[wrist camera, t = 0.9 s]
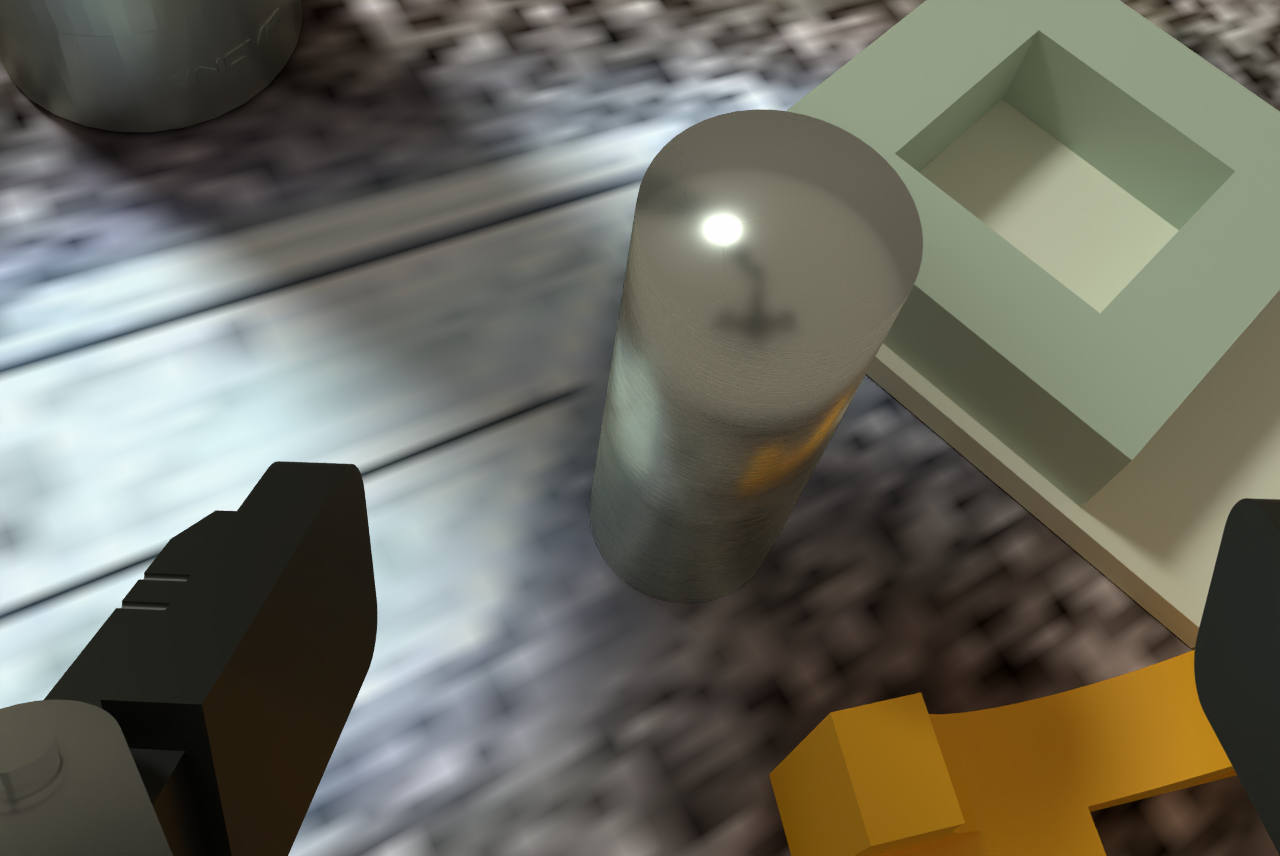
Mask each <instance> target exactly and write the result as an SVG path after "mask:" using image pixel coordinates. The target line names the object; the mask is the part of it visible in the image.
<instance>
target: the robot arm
mask: <svg viewBox="0 0 1280 856" xmlns="http://www.w3.org/2000/svg"><path fill="white" fill-rule="evenodd" d="M302 20H303V19H302V6H301V0H0V60H1V62H2V64H3V66H4V68H5V70H6V71H7V73H8V75H9V77H10V79H11V80H12V81H13V82H14V83H15V84H16V85H17V86H18V87H19V88H20V90H21V91H22V92H23V93H24V94H25V95H26V96H27V97H28V98H29V99H30V100H32V101H34V102H35V103H37V104H38V105H40V106H41V107H43V108H45V109H46V110H48V111H49V112H51V113H53V114H54V115H56V116H59V117H62V118H64V119H67V120H70V121H72V122H75V123H78V124H80V125H83V126H87V127H93V128H98V129H104V130H109V131H115V132H157V131H164V130H171V129H177V128H184V127H188V126H191V125H194V124H197V123H201V122H204V121H207V120H210V119H214V118H217V117H219V116H221V115H223V114H225V113H227V112H229V111H230V110H232V109H234V108H236V107H238V106H240V105H242V104H244V103H246V102H247V101H248V100H250V99H251V98H252V97H254V96H255V95H256V94H258V93H259V92H260V91H262V90H263V89H264V88H266V87H267V86H268V85H269V84H270V83H271V82H272V81H273V79H274V78H275V77H276V76H277V75H278V74H279V72H280V71H281V70H282V69H283V68H284V67H285V66H286V64H287V62H288V60H289V58H290V56H291V55H292V53H293V51H294V49H295V47H296V45H297V43H298V39H299V34H300V29H301V25H302ZM376 632H377V598H376V589H375V581H374V572H373V563H372V554H371V545H370V536H369V527H368V518H367V509H366V500H365V491H364V484H363V480H362V476H361V474H360V471H359V469H358V468H357V467H356V466H355V465H353V464H336V463H308V462H280V461H278V462H274V463H273V464H272V465H271V466H270V467H269V468H268V469H267V471H266V472H265V473H264V475H263V476H262V477H261V479H260V480H259V482H258V483H257V484H256V486H255V487H254V488H253V490H252V491H251V493H250V494H249V495H248V497H247V498H246V499H245V501H244V502H243V504H242V505H241V506H240V508H239V509H238V511H214V512H213V513H211V514H210V515H208V516H207V517H205V518H203V519H202V520H200V521H199V522H197V523H195V524H194V525H192V526H191V527H189V528H188V529H186V530H184V531H183V532H181V533H180V534H178V535H176V536H175V537H173V538H172V539H171V540H170V541H169V542H168V543H167V545H166V546H165V547H164V548H163V550H162V551H161V552H160V554H159V555H158V556H157V557H156V559H155V560H154V561H153V562H152V564H151V565H150V566H149V567H148V569H147V570H146V571H145V573H144V580H138V581H137V583H136V584H135V585H134V586H133V588H132V589H131V590H130V591H129V593H128V594H127V595H126V597H125V598H124V599H123V600H122V608H116V609H115V610H114V612H113V613H112V614H111V616H110V617H109V618H108V619H107V621H106V622H105V623H104V624H103V626H102V627H101V628H100V629H99V631H98V632H97V633H96V634H95V636H94V637H93V638H92V640H91V641H90V642H89V643H88V645H87V646H86V647H85V648H84V650H83V651H82V652H81V653H80V655H79V656H78V657H77V659H76V660H75V661H74V662H73V664H72V665H71V666H70V667H69V669H68V670H67V671H66V672H65V674H64V675H63V676H62V677H61V679H60V680H59V681H58V683H57V684H56V685H55V686H54V688H53V689H52V690H51V691H50V693H49V694H48V695H47V696H46V698H45V699H44V700H42V701H33V702H28V703H22V704H17V705H14V706H10V707H6V708H3V709H0V856H288V854H289V852H290V850H291V847H292V845H293V843H294V841H295V838H296V836H297V834H298V831H299V829H300V827H301V824H302V822H303V820H304V817H305V815H306V813H307V811H308V808H309V806H310V804H311V801H312V799H313V797H314V794H315V792H316V790H317V787H318V785H319V783H320V781H321V778H322V776H323V774H324V771H325V769H326V767H327V764H328V762H329V760H330V758H331V755H332V753H333V751H334V748H335V746H336V744H337V741H338V739H339V737H340V734H341V732H342V730H343V728H344V725H345V723H346V721H347V718H348V716H349V714H350V711H351V709H352V707H353V705H354V702H355V700H356V698H357V695H358V693H359V691H360V688H361V686H362V684H363V681H364V679H365V677H366V675H367V672H368V670H369V667H370V664H371V661H372V657H373V652H374V647H375V641H376ZM1194 674H1195V683H1196V689H1197V694H1198V698H1199V701H1200V704H1201V707H1202V709H1203V711H1204V713H1205V715H1206V717H1207V719H1208V721H1209V723H1210V725H1211V726H1212V728H1213V730H1214V732H1215V734H1216V736H1217V738H1218V740H1219V742H1220V743H1221V745H1222V747H1223V749H1224V751H1225V753H1226V755H1227V757H1228V759H1229V760H1230V762H1231V764H1232V766H1233V768H1234V770H1235V772H1236V774H1237V775H1238V777H1239V779H1240V781H1241V783H1242V785H1243V787H1244V789H1245V791H1246V792H1247V794H1248V796H1249V798H1250V800H1251V802H1252V804H1253V806H1254V808H1255V809H1256V811H1257V813H1258V815H1259V817H1260V819H1261V821H1262V823H1263V824H1264V826H1265V828H1266V830H1267V832H1268V834H1269V836H1270V838H1271V840H1272V841H1273V843H1274V845H1275V847H1276V849H1277V851H1278V853H1279V855H1280V499H1254V498H1245V499H1241V500H1240V501H1238V502H1237V503H1236V504H1235V505H1234V506H1233V508H1232V509H1231V511H1230V513H1229V515H1228V518H1227V521H1226V524H1225V527H1224V531H1223V535H1222V539H1221V543H1220V547H1219V551H1218V555H1217V559H1216V563H1215V567H1214V571H1213V575H1212V579H1211V583H1210V587H1209V591H1208V595H1207V599H1206V603H1205V607H1204V611H1203V615H1202V619H1201V623H1200V627H1199V631H1198V635H1197V639H1196V644H1195V652H1194Z"/></svg>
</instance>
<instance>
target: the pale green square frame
mask: <svg viewBox="0 0 1280 856" xmlns="http://www.w3.org/2000/svg"><path fill="white" fill-rule="evenodd" d="M787 112H793V113H798V114H803V115H807V116H810V117H813V118H817V119H820V120H823V121H826V122H828V123H830V124H833V125H835V126H837V127H840V128H842V129H843V130H845V131H847V132H849V133H851V134H852V135H854V136H856V137H857V138H859V139H860V140H862V141H863V142H865V143H866V144H867V145H869V146H870V147H872V148H873V149H874V150H875V151H876V152H877V153H878V154H880V155H881V156H882V157H883V158H884V159H885V160H886V161H887V162H888V163H889V164H890V165H891V167H892V168H893V169H894V170H895V171H896V172H897V174H898V175H899V177H900V178H901V179H902V181H903V182H904V183H905V185H906V187H907V189H908V191H909V192H910V194H911V196H912V198H913V200H914V203H915V205H916V208H917V211H918V213H919V217H920V222H921V226H922V234H923V253H922V262H921V265H920V269H919V273H918V276H917V279H916V281H915V283H914V285H913V288H912V290H911V292H910V293H909V295H908V297H907V299H906V301H905V303H904V304H903V306H902V308H901V310H900V312H899V314H898V316H897V317H896V319H895V321H894V323H893V325H892V327H891V328H890V330H889V332H888V334H887V336H886V338H885V340H884V341H883V343H882V345H881V347H880V349H879V351H878V353H877V354H876V356H875V358H874V360H873V362H872V364H871V365H870V367H869V369H868V371H867V373H866V374H867V375H868V376H869V377H870V378H871V379H873V380H874V381H875V382H876V383H877V384H879V385H880V386H881V387H882V388H883V389H884V390H886V391H887V392H888V393H889V394H890V395H892V396H893V397H894V398H895V399H896V400H897V401H899V402H900V403H901V404H902V405H903V406H905V407H906V408H907V409H908V410H909V411H911V412H912V413H913V414H914V415H915V416H916V417H918V418H919V419H920V420H921V421H922V422H924V423H925V424H926V425H927V426H928V427H929V428H931V429H932V430H933V431H934V432H935V433H937V434H938V435H939V436H940V437H941V438H943V439H944V440H945V441H946V442H947V443H948V444H950V445H951V446H952V447H953V448H954V449H956V450H957V451H958V452H959V453H960V454H961V455H963V456H964V457H965V458H966V459H967V460H969V461H970V462H971V463H972V464H973V465H975V466H976V467H977V468H978V469H979V470H980V471H982V472H983V473H984V474H985V475H986V476H988V477H989V478H990V479H991V480H992V481H993V482H995V483H996V484H997V485H998V486H999V487H1001V488H1002V489H1003V490H1004V491H1005V492H1006V493H1008V494H1009V495H1010V496H1011V497H1012V498H1014V499H1015V500H1016V501H1017V502H1018V503H1020V504H1021V505H1022V506H1023V507H1024V508H1025V509H1027V510H1028V511H1029V512H1030V513H1031V514H1033V515H1034V516H1035V517H1036V518H1037V519H1038V520H1040V521H1041V522H1042V523H1043V524H1044V525H1046V526H1047V527H1048V528H1049V529H1050V530H1052V531H1053V532H1054V533H1055V534H1056V535H1057V536H1059V537H1060V538H1061V539H1062V540H1063V541H1065V542H1066V543H1067V544H1068V545H1069V546H1070V547H1072V548H1073V549H1074V550H1075V551H1076V552H1078V553H1079V554H1080V555H1081V556H1082V557H1083V558H1085V559H1086V560H1087V561H1088V562H1089V563H1091V564H1092V565H1093V566H1094V567H1095V568H1097V569H1098V570H1099V571H1100V572H1101V573H1102V574H1104V575H1105V576H1106V577H1107V578H1108V579H1110V580H1111V581H1112V582H1113V583H1114V584H1115V585H1117V586H1118V587H1119V588H1120V589H1121V590H1123V591H1124V592H1125V593H1126V594H1127V595H1129V596H1130V597H1131V598H1132V599H1133V600H1134V601H1136V602H1137V603H1138V604H1139V605H1140V606H1142V607H1143V608H1144V609H1145V610H1146V611H1147V612H1149V613H1150V614H1151V615H1152V616H1153V617H1155V618H1156V619H1157V620H1158V621H1159V622H1160V623H1162V624H1163V625H1164V626H1165V627H1166V628H1168V629H1169V630H1170V631H1171V632H1172V633H1174V634H1175V635H1176V636H1177V637H1178V638H1179V639H1181V640H1182V641H1183V642H1184V643H1185V644H1187V645H1188V646H1189V647H1190V648H1191V649H1192V648H1194V647H1195V644H1196V639H1197V635H1198V631H1199V627H1200V623H1201V619H1202V615H1203V611H1204V607H1205V603H1206V599H1207V595H1208V591H1209V587H1210V583H1211V579H1212V575H1213V571H1214V567H1215V563H1216V559H1217V555H1218V551H1219V547H1220V543H1221V539H1222V535H1223V531H1224V527H1225V524H1226V521H1227V518H1228V515H1229V513H1230V511H1231V509H1232V508H1233V506H1234V505H1235V504H1236V503H1237V502H1238V501H1240V500H1241V499H1245V498H1254V499H1280V112H1279V111H1278V110H1276V109H1275V108H1274V107H1272V106H1271V105H1269V104H1268V103H1266V102H1265V101H1263V100H1262V99H1261V98H1259V97H1258V96H1256V95H1255V94H1253V93H1252V92H1251V91H1249V90H1248V89H1246V88H1245V87H1243V86H1242V85H1240V84H1239V83H1238V82H1236V81H1235V80H1233V79H1232V78H1230V77H1229V76H1228V75H1226V74H1225V73H1223V72H1222V71H1220V70H1219V69H1217V68H1216V67H1215V66H1213V65H1212V64H1210V63H1209V62H1207V61H1206V60H1205V59H1203V58H1202V57H1200V56H1199V55H1197V54H1196V53H1194V52H1193V51H1192V50H1190V49H1189V48H1187V47H1186V46H1184V45H1183V44H1182V43H1180V42H1179V41H1177V40H1176V39H1174V38H1173V37H1171V36H1170V35H1169V34H1167V33H1166V32H1164V31H1163V30H1161V29H1160V28H1159V27H1157V26H1156V25H1154V24H1153V23H1151V22H1150V21H1148V20H1147V19H1146V18H1144V17H1143V16H1141V15H1140V14H1138V13H1137V12H1136V11H1134V10H1133V9H1131V8H1130V7H1128V6H1127V5H1125V4H1124V3H1123V2H1121V1H1120V0H926V1H925V2H924V3H922V4H921V5H920V6H919V7H917V8H916V9H915V10H914V11H912V12H911V13H910V14H909V15H907V16H906V17H905V18H903V19H902V20H901V21H900V22H898V23H897V24H896V25H895V26H893V27H892V28H891V29H890V30H888V31H887V32H886V33H885V34H883V35H882V36H881V37H879V38H878V39H877V40H876V41H874V42H873V43H872V44H871V45H869V46H868V47H867V48H866V49H864V50H863V51H862V52H861V53H859V54H858V55H857V56H855V57H854V58H853V59H852V60H850V61H849V62H848V63H847V64H845V65H844V66H843V67H842V68H840V69H839V70H838V71H836V72H835V73H834V74H833V75H831V76H830V77H829V78H828V79H826V80H825V81H824V82H823V83H821V84H820V85H819V86H818V87H816V88H815V89H814V90H812V91H811V92H810V93H809V94H807V95H806V96H805V97H804V98H802V99H801V100H800V101H799V102H797V103H796V104H795V105H794V106H792V107H791V108H790V109H788V110H787Z"/></svg>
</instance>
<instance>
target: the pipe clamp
mask: <svg viewBox="0 0 1280 856" xmlns="http://www.w3.org/2000/svg"><path fill="white" fill-rule="evenodd" d="M1194 652H1195V650H1193V651H1190V652H1187V653H1185V654H1182V655H1179V656H1177V657H1174V658H1171V659H1168V660H1166V661H1163V662H1160V663H1157V664H1154V665H1151V666H1148V667H1145V668H1142V669H1139V670H1136V671H1133V672H1130V673H1127V674H1124V675H1121V676H1117V677H1114V678H1111V679H1108V680H1104V681H1101V682H1098V683H1094V684H1091V685H1087V686H1084V687H1080V688H1077V689H1073V690H1069V691H1065V692H1062V693H1058V694H1054V695H1050V696H1046V697H1042V698H1038V699H1034V700H1029V701H1025V702H1020V703H1016V704H1011V705H1006V706H1001V707H995V708H990V709H984V710H978V711H971V712H963V713H953V714H928V711H927V708H926V705H925V702H924V699H923V696H922V693H916V694H912V695H907V696H903V697H898V698H894V699H889V700H885V701H880V702H875V703H871V704H866V705H862V706H857V707H853V708H848V709H844V710H839V711H835V712H830V713H829V714H828V715H827V716H826V717H825V719H824V720H823V721H822V722H821V723H820V724H819V725H818V726H817V727H816V728H815V729H814V730H813V731H812V732H811V733H810V734H809V735H808V736H807V737H806V738H805V739H804V740H803V741H802V742H801V743H800V744H799V745H798V746H797V747H796V748H795V749H794V750H793V751H792V752H791V753H790V754H789V755H788V756H787V757H786V758H785V759H784V760H783V761H782V762H781V763H780V764H779V765H778V766H777V767H776V768H775V769H774V770H773V771H772V772H771V773H770V774H769V776H770V780H771V784H772V787H773V791H774V794H775V798H776V802H777V805H778V809H779V813H780V816H781V820H782V824H783V827H784V831H785V834H786V838H787V842H788V845H789V849H790V853H791V856H1106V853H1105V851H1104V848H1103V845H1102V843H1101V840H1100V837H1099V835H1098V832H1097V829H1096V827H1095V824H1094V822H1093V819H1092V816H1091V814H1090V812H1092V811H1096V810H1100V809H1104V808H1108V807H1112V806H1116V805H1120V804H1124V803H1128V802H1132V801H1136V800H1140V799H1144V798H1148V797H1152V796H1156V795H1160V794H1164V793H1168V792H1172V791H1177V790H1181V789H1185V788H1189V787H1193V786H1197V785H1201V784H1205V783H1209V782H1213V781H1217V780H1221V779H1225V778H1229V777H1233V776H1237V774H1236V772H1235V770H1234V768H1233V766H1232V764H1231V762H1230V760H1229V759H1228V757H1227V755H1226V753H1225V751H1224V749H1223V747H1222V745H1221V743H1220V742H1219V740H1218V738H1217V736H1216V734H1215V732H1214V730H1213V728H1212V726H1211V725H1210V723H1209V721H1208V719H1207V717H1206V715H1205V713H1204V711H1203V709H1202V707H1201V704H1200V701H1199V698H1198V694H1197V689H1196V683H1195V674H1194Z"/></svg>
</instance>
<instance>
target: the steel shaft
mask: <svg viewBox="0 0 1280 856" xmlns="http://www.w3.org/2000/svg"><path fill="white" fill-rule="evenodd" d="M922 253H923V234H922V226H921V222H920V217H919V213H918V211H917V208H916V205H915V203H914V200H913V198H912V196H911V194H910V192H909V191H908V189H907V187H906V185H905V183H904V182H903V181H902V179H901V178H900V177H899V175H898V174H897V172H896V171H895V170H894V169H893V168H892V167H891V165H890V164H889V163H888V162H887V161H886V160H885V159H884V158H883V157H882V156H881V155H880V154H878V153H877V152H876V151H875V150H874V149H873V148H872V147H870V146H869V145H867V144H866V143H865V142H863V141H862V140H860V139H859V138H857V137H856V136H854V135H852V134H851V133H849V132H847V131H845V130H843V129H842V128H840V127H837V126H835V125H833V124H830V123H828V122H826V121H823V120H820V119H817V118H813V117H810V116H807V115H803V114H798V113H793V112H787V111H778V110H746V111H736V112H732V113H727V114H722V115H718V116H716V117H713V118H710V119H707V120H704V121H702V122H700V123H698V124H696V125H693V126H691V127H689V128H688V129H686V130H685V131H683V132H682V133H680V134H679V135H677V136H676V137H674V138H673V139H672V140H671V141H670V142H669V143H668V144H667V145H665V146H664V147H663V148H662V150H661V151H660V152H659V153H658V154H657V156H656V157H655V158H654V159H653V161H652V163H651V164H650V166H649V168H648V169H647V171H646V173H645V175H644V178H643V180H642V183H641V185H640V189H639V193H638V198H637V203H636V209H635V216H634V222H633V228H632V235H631V241H630V248H629V254H628V261H627V267H626V273H625V280H624V286H623V293H622V299H621V306H620V312H619V318H618V325H617V331H616V338H615V344H614V350H613V357H612V363H611V370H610V376H609V383H608V389H607V395H606V402H605V408H604V415H603V421H602V427H601V434H600V440H599V447H598V453H597V460H596V466H595V472H594V479H593V485H592V492H591V498H590V510H589V513H590V524H591V529H592V534H593V537H594V539H595V542H596V545H597V547H598V549H599V551H600V553H601V555H602V556H603V558H604V559H605V561H606V562H607V563H608V565H609V566H610V567H611V568H612V569H613V571H614V572H615V573H616V574H617V575H618V576H619V577H621V578H622V579H623V580H624V581H625V582H626V583H628V584H629V585H631V586H632V587H634V588H636V589H637V590H639V591H641V592H643V593H645V594H647V595H649V596H652V597H655V598H658V599H661V600H666V601H671V602H679V603H698V602H704V601H710V600H713V599H716V598H720V597H723V596H725V595H727V594H729V593H731V592H733V591H735V590H736V589H738V588H739V587H741V586H742V585H744V584H745V583H746V582H747V581H748V580H750V579H751V578H752V577H753V576H754V574H755V573H756V572H757V571H758V570H759V569H760V567H761V566H762V564H763V562H764V561H765V559H766V558H767V556H768V554H769V552H770V550H771V548H772V546H773V545H774V543H775V541H776V539H777V537H778V535H779V534H780V532H781V530H782V528H783V526H784V524H785V522H786V521H787V519H788V517H789V515H790V513H791V511H792V510H793V508H794V506H795V504H796V502H797V500H798V498H799V497H800V495H801V493H802V491H803V489H804V487H805V486H806V484H807V482H808V480H809V478H810V476H811V474H812V473H813V471H814V469H815V467H816V465H817V463H818V462H819V460H820V458H821V456H822V454H823V452H824V450H825V449H826V447H827V445H828V443H829V441H830V439H831V437H832V436H833V434H834V432H835V430H836V428H837V426H838V425H839V423H840V421H841V419H842V417H843V415H844V413H845V412H846V410H847V408H848V406H849V404H850V402H851V401H852V399H853V397H854V395H855V393H856V391H857V389H858V388H859V386H860V384H861V382H862V380H863V378H864V377H865V375H866V373H867V371H868V369H869V367H870V365H871V364H872V362H873V360H874V358H875V356H876V354H877V353H878V351H879V349H880V347H881V345H882V343H883V341H884V340H885V338H886V336H887V334H888V332H889V330H890V328H891V327H892V325H893V323H894V321H895V319H896V317H897V316H898V314H899V312H900V310H901V308H902V306H903V304H904V303H905V301H906V299H907V297H908V295H909V293H910V292H911V290H912V288H913V285H914V283H915V281H916V279H917V276H918V273H919V269H920V265H921V262H922Z"/></svg>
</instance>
